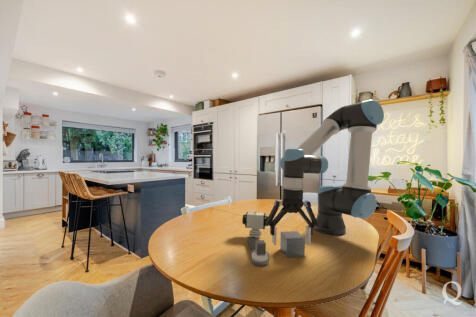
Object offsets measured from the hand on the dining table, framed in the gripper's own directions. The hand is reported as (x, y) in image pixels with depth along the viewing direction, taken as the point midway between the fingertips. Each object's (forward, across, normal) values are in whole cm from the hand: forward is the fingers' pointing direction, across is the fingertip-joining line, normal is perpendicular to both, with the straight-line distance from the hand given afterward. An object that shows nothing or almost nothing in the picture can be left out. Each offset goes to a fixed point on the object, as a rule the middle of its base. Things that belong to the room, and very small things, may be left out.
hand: (291, 243), depth 78 cm
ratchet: (+4, +14, -1) cm, 14 cm away
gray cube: (+4, 0, 0) cm, 4 cm away
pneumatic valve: (+4, +10, -17) cm, 21 cm away
